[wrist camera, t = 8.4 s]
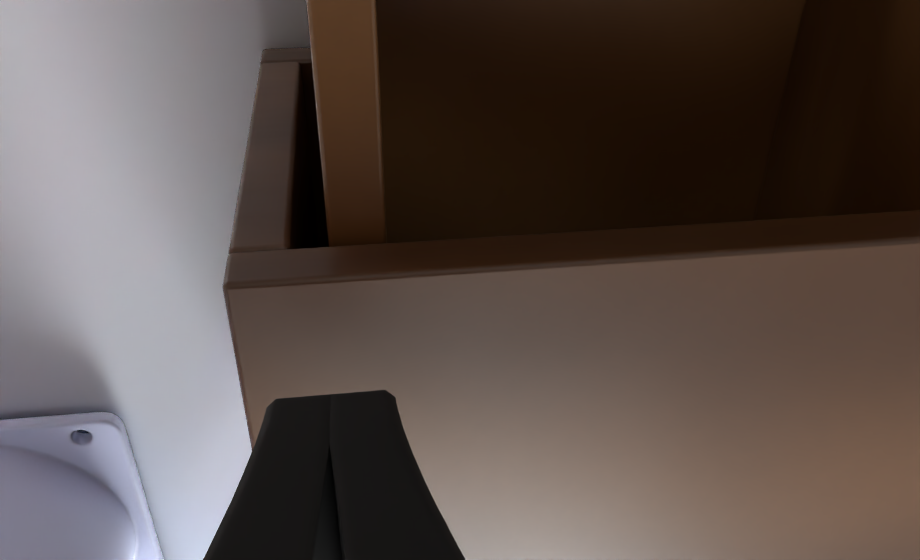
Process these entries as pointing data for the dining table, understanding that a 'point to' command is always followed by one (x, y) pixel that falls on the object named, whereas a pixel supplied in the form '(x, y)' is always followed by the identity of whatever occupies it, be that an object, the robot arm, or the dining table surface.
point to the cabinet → (599, 365)
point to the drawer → (610, 113)
